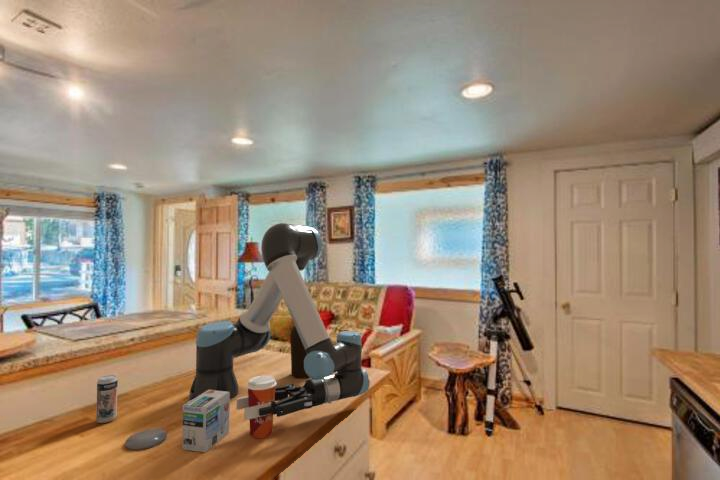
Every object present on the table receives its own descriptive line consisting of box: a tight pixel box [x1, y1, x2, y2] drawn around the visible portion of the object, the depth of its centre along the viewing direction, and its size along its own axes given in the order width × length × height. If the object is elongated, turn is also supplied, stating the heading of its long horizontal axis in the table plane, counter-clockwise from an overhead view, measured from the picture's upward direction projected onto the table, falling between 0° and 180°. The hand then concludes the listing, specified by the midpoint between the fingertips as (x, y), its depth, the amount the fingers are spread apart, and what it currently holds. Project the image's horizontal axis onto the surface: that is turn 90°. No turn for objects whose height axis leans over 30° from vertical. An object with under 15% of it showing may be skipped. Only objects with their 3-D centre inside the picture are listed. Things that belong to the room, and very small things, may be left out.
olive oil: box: [289, 325, 310, 379], centre depth 143 cm, size 11×11×25 cm
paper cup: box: [246, 375, 278, 440], centre depth 96 cm, size 8×8×14 cm
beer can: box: [95, 374, 119, 424], centre depth 103 cm, size 5×5×12 cm
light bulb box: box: [181, 390, 231, 453], centre depth 92 cm, size 11×7×11 cm, turn 168°
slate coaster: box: [125, 428, 168, 451], centre depth 92 cm, size 9×9×1 cm
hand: (240, 409), depth 93 cm, fingers closed on paper cup, 6 cm apart
